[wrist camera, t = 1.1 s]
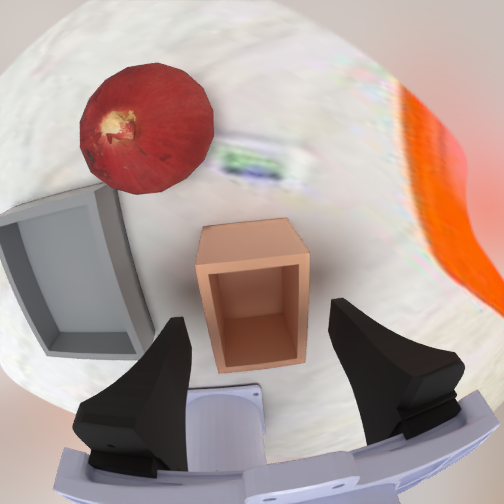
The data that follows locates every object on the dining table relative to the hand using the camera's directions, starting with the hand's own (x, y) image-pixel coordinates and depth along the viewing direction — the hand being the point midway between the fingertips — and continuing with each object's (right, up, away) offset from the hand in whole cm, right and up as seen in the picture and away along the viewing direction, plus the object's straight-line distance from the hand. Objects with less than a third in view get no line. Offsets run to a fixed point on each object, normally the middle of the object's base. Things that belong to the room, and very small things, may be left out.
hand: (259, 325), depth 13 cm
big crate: (-13, +2, +4) cm, 13 cm away
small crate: (0, +2, +5) cm, 5 cm away
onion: (-5, +10, +1) cm, 12 cm away
